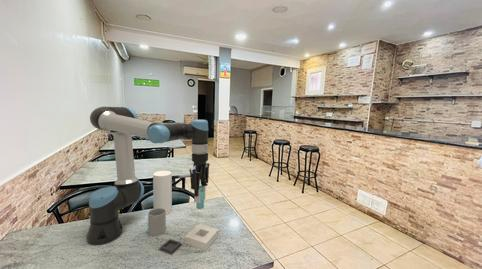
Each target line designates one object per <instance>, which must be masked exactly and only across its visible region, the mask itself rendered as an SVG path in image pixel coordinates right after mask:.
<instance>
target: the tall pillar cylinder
mask: <svg viewBox="0 0 482 269" xmlns="http://www.w3.org/2000/svg"><path fill="white" fill-rule="evenodd" d="M172 176H173V174H172V172H171V171H169V170H158V171H155V172H153V174H152V188H153V189H152V190H153V192H152V194H153V198H152V199H153V204H152V205H153V209H156V208H162V209H165V211H166V216H167V215H169V214H171V213H172V211H173V210H172V208H173V207H172V206H173V205H172V204H173V200H172V198H173V195H172V192H173V190H172V189H173V187H172V186H173V185H172V184H173V182H172V181H173V179H172V178H173V177H172Z"/></svg>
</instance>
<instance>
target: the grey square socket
mask: <svg viewBox="0 0 482 269" xmlns="http://www.w3.org/2000/svg"><path fill="white" fill-rule="evenodd" d="M183 245H184V244H183V243H182V242H180V241H177V240H174V239H172V238H169V239H168V240H167V241H165V243H163V244H162V245H160V247H159V248H158V249H157V251H159V252H162V253H164V254H167V255H170V256H173V255H174V254H175V253H176V252H177V251H178V250H179V249H180V248H182V246H183Z"/></svg>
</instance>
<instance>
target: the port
mask: <svg viewBox="0 0 482 269" xmlns="http://www.w3.org/2000/svg"><path fill="white" fill-rule="evenodd" d="M219 231H220V230H219V229H218V228H214V227H211V226H208V225H204V224H200V223H198V224H197V225H196V226H195V227H194V228H193V229H191V230H190V231H189V232H188V233H187V234H186V235H185V236H184V244H186V245H187V246H192V247H195V248H197V249H201V250H204V251H207V250H208V249H209V248H210V246H211V245H212V244H213V243H214V241H216V239H218V237H219V234H220V233H219Z"/></svg>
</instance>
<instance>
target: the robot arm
mask: <svg viewBox="0 0 482 269" xmlns="http://www.w3.org/2000/svg"><path fill="white" fill-rule="evenodd" d="M138 116H139V115H138V114H137V113H136V111H135V110H134V109H133V108H130V107H125V106H124V107H123V106H100V107H97V108H96V109H94V110H93V111H92V112H91V113H90V115H89V122H90V124H91V125H92V126H93V127H94V128H95V129H97V130H100V131H101V130H102V131H104V132H109V134H110V135H112V137H113V145H114V157H115V165H116V175H117V176H116V177H117V179H116V180H115V182H114V186H106V187H101V188H98V189H96V190H94V192H92V193H91V194H90V195H89V200H88V201H89V202H88V206H89V220H90V222H89V223H90V224H89V227H88V231H87V233H86V242H87V243H88V244H89V245H91V246H92V245H93V246H101V245H105V244H108V243H111V242H113V241H115V240H117V239H118V238H120V237H121V236H122V234H123V233H124V229H123V227H124V226H123V224H122V222H121V221H120V218H119V211H120V210H123V208H126V207H129V206H130V205H133V204H135V203H137V202H138V201H140V200H141V199H142V198H143V196H144V193H145V187H144V184H143V183H142V181H140V180H139V178H138V177H137V176H136V172H135V160H134V158H135V156H134V151H133V150H134V148H133V147H134V146H133V136H134V137H139V138H144V139H147V140H149V141H150V143H153V144H164V143H167V142H168V143H169V142H172V141H173V142H174V141H177V140H178V141H180V140H190V141H191V161H192V162H193V166H192V168H190V169H189V170H188V171H189V175H190V189H191V190H193V192H194V193H193V194H194V203H196V202H197V203H200V189H199V186H203V187H204V201H205V200H206V191H207V190H206V187H207V186H208V183H209V170H210V163H209V162H208V160H209V153H208V152H209V122H208V120H207V119H192V120H191V123H184V122H183V123H181V122H173V123H169V124H168V123H167V124H164V123H159V122H154V121H150V120H145V119H141V118H139V117H138Z"/></svg>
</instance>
